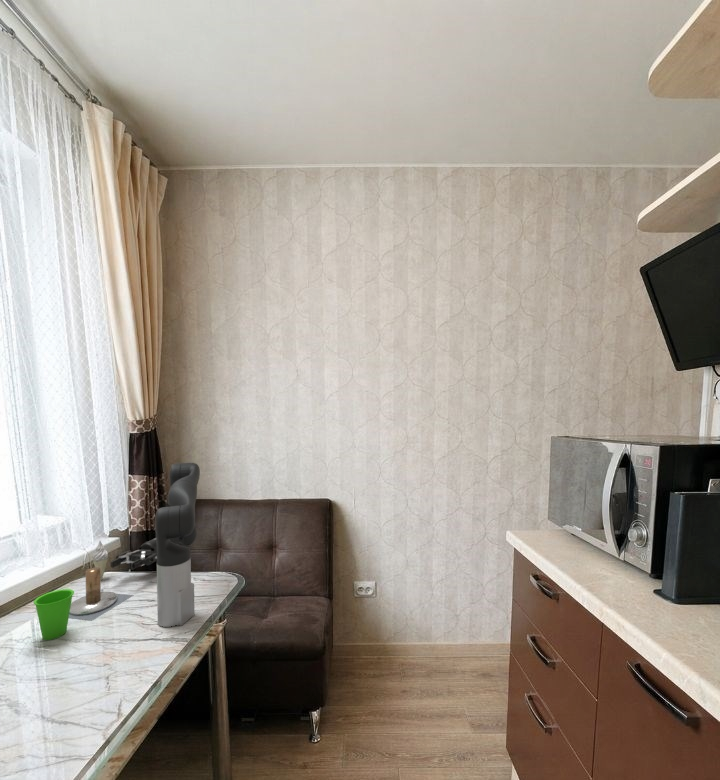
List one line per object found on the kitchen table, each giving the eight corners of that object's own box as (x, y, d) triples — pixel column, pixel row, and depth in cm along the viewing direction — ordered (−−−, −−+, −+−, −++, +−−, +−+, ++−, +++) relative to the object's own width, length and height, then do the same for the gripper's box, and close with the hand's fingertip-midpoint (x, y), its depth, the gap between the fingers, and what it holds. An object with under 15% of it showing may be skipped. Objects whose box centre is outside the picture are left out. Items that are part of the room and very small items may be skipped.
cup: (39, 650, 106) (39, 607, 106) (29, 638, 111) (29, 598, 111) (79, 633, 113) (79, 594, 113) (67, 623, 118) (67, 586, 119)
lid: (126, 596, 133) (126, 563, 134) (91, 617, 121) (91, 580, 121) (94, 593, 136) (94, 560, 137) (57, 613, 124) (57, 577, 124)
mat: (133, 596, 134) (133, 595, 134) (91, 622, 119) (91, 620, 119) (95, 592, 138) (95, 591, 138) (49, 617, 122) (49, 615, 122)
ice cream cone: (89, 583, 146) (88, 541, 146) (102, 577, 150) (102, 537, 151) (98, 585, 144) (98, 543, 144) (112, 579, 149) (111, 538, 149)
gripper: (139, 538, 157) (104, 553, 141) (170, 540, 154) (138, 556, 138) (140, 557, 157) (104, 575, 141) (171, 559, 154) (138, 578, 138)
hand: (121, 565), depth 140 cm, fingers open, 8 cm apart
